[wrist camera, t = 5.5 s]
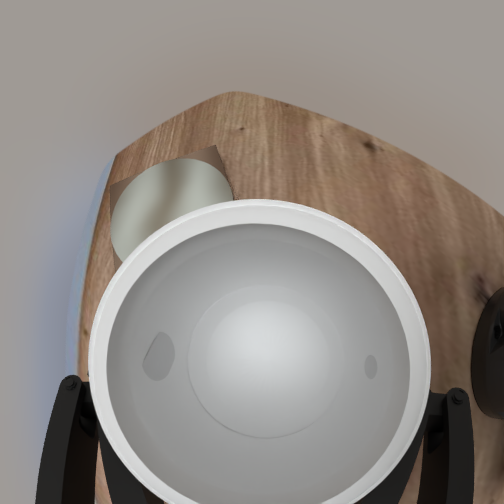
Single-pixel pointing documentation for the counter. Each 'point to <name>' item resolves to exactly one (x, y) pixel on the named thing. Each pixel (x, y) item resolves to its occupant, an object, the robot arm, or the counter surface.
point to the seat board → (164, 197)
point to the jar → (260, 358)
